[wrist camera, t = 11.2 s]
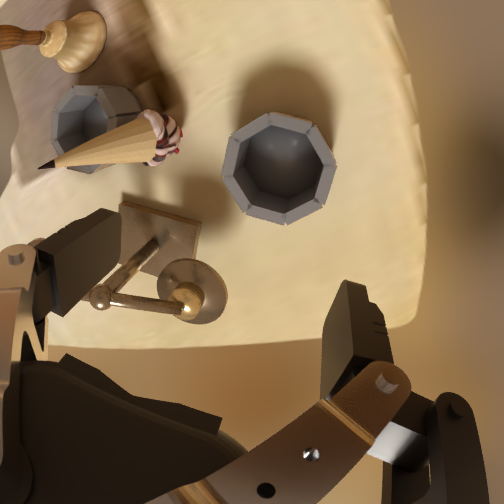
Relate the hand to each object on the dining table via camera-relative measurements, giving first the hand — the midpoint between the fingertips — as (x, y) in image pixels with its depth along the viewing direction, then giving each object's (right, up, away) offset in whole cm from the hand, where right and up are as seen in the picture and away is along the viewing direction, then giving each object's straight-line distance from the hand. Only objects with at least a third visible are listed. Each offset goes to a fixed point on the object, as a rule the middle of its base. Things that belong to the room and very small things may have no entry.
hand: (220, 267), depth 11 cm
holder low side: (+4, +9, +20) cm, 22 cm away
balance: (-10, +2, +26) cm, 28 cm away
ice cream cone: (-16, +7, +10) cm, 20 cm away
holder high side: (-15, +15, +21) cm, 30 cm away
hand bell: (-19, +26, +17) cm, 36 cm away
